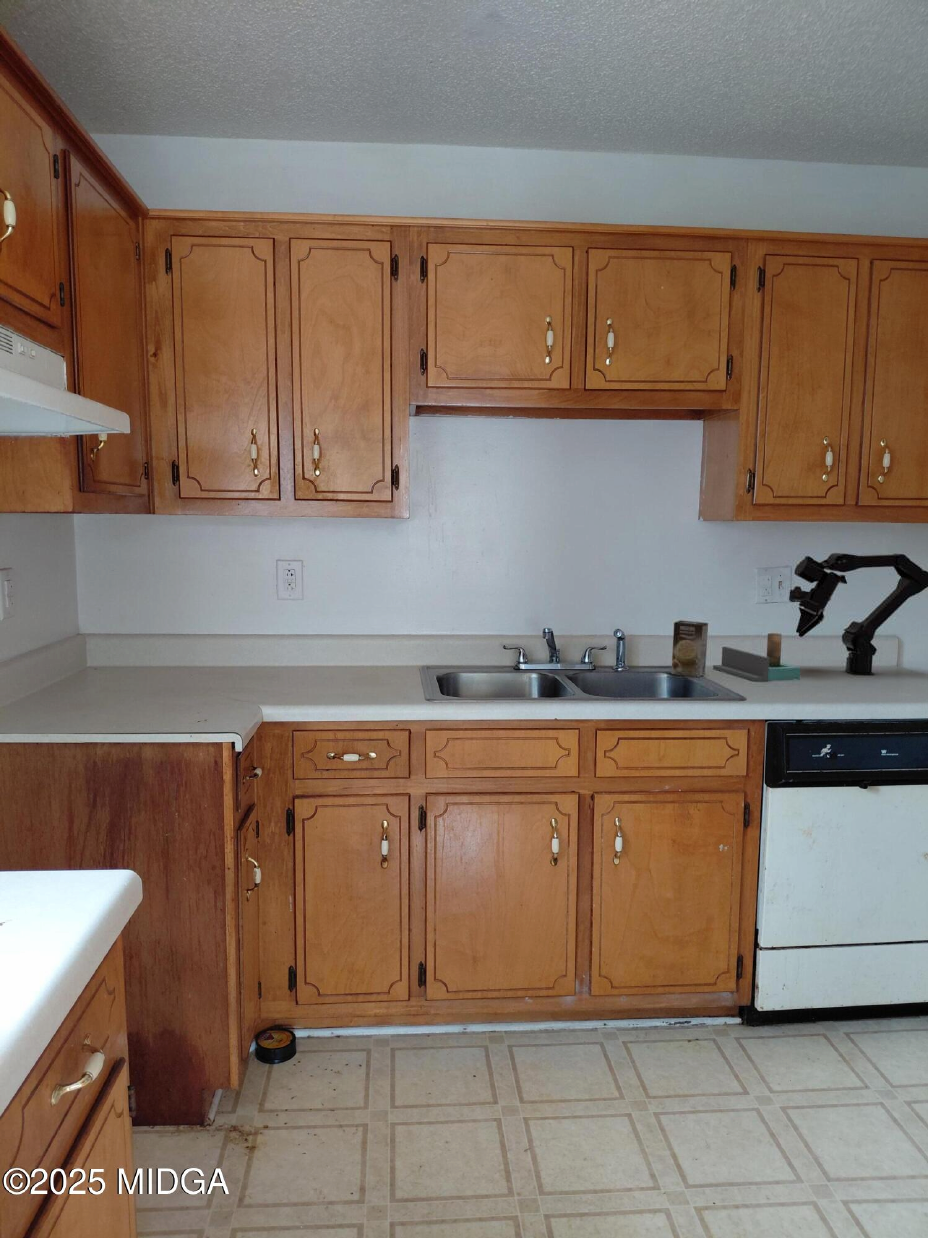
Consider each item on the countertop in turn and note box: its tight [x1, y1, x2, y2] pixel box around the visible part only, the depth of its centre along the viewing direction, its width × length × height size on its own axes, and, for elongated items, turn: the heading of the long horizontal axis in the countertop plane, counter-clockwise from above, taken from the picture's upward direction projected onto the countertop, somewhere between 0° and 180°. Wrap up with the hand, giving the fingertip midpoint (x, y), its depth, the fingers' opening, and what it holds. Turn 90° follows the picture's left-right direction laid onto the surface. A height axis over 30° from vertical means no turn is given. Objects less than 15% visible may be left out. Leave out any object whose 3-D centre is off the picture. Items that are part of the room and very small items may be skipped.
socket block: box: [767, 662, 801, 682], centre depth 262 cm, size 11×11×4 cm
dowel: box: [766, 632, 783, 667], centre depth 262 cm, size 4×4×12 cm
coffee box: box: [670, 619, 709, 678], centre depth 264 cm, size 9×6×16 cm
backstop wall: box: [712, 646, 769, 683], centre depth 265 cm, size 5×22×7 cm, turn 16°
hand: (798, 634), depth 269 cm, fingers open, 9 cm apart
